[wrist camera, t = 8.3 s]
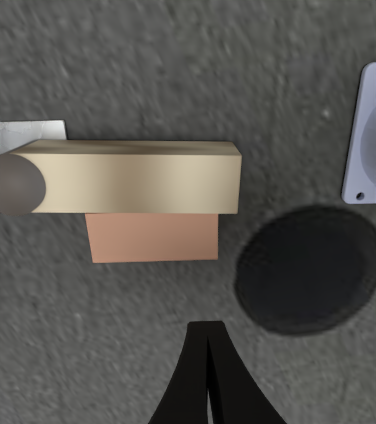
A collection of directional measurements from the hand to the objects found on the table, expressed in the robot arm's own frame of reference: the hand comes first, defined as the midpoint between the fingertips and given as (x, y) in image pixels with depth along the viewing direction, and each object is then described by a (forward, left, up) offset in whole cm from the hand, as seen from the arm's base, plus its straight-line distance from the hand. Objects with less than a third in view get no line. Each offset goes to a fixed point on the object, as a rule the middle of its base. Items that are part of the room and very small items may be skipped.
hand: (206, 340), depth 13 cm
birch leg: (+4, -5, -9) cm, 11 cm away
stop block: (+2, -2, -9) cm, 10 cm away
